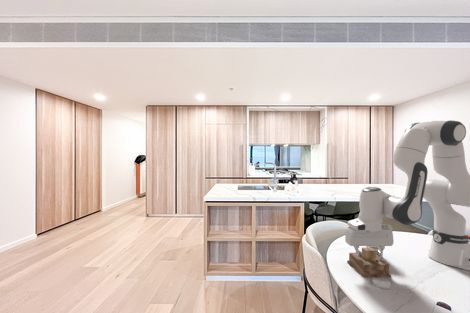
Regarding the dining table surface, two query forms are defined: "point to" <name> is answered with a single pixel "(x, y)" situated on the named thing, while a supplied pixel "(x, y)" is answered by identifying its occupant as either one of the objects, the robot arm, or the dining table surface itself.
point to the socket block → (369, 266)
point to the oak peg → (368, 254)
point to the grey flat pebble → (381, 283)
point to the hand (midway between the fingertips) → (368, 254)
